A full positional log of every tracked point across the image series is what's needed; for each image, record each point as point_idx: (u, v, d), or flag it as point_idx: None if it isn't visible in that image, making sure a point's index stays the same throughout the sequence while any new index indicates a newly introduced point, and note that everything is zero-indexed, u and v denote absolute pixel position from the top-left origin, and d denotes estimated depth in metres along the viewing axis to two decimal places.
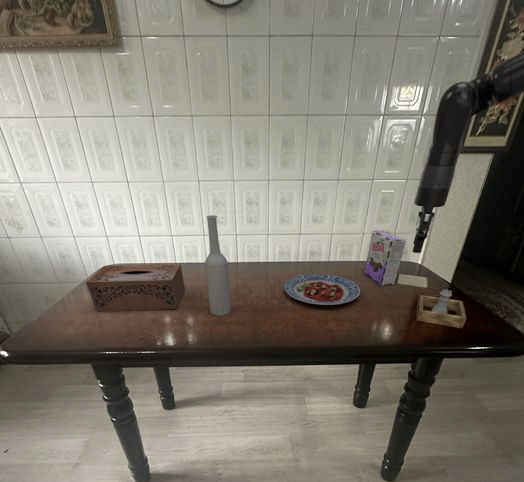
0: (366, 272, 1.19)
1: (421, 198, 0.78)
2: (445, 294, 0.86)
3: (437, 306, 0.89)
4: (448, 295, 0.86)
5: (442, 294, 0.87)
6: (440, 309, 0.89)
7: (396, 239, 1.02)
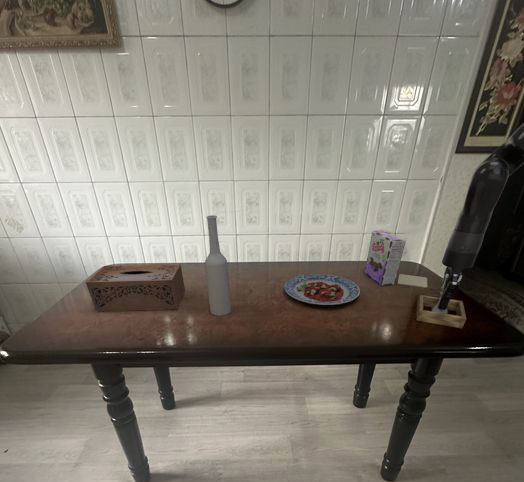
0: (366, 272, 1.19)
1: (449, 260, 0.80)
2: None
3: (437, 306, 0.89)
4: None
5: None
6: (440, 309, 0.89)
7: (396, 239, 1.02)
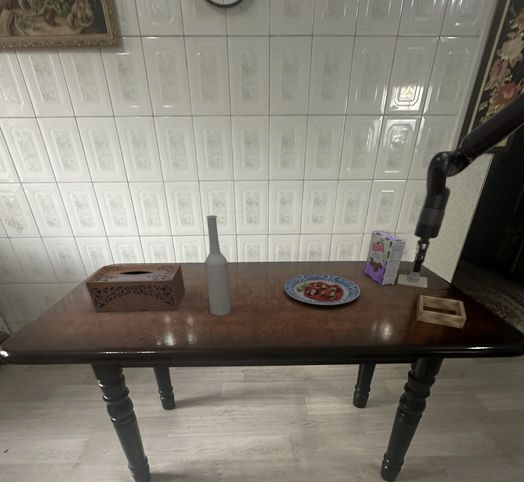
0: (366, 272, 1.19)
1: (419, 231, 1.02)
2: None
3: (411, 272, 1.11)
4: None
5: None
6: (414, 275, 1.11)
7: (396, 239, 1.02)
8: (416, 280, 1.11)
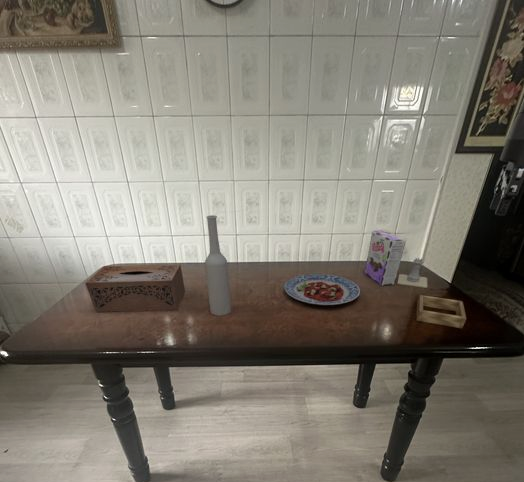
0: (366, 272, 1.19)
1: (511, 152, 0.70)
2: (417, 261, 1.08)
3: (411, 272, 1.11)
4: (419, 262, 1.08)
5: (415, 262, 1.09)
6: (414, 275, 1.11)
7: (396, 239, 1.02)
8: (416, 280, 1.11)
